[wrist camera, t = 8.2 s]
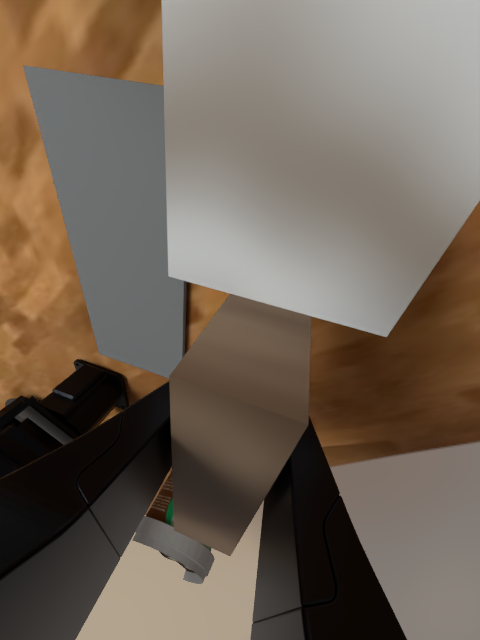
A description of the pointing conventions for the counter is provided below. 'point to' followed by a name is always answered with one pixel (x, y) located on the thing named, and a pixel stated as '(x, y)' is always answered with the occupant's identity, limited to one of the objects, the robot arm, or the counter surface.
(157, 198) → the rest mat
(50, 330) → the counter surface
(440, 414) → the counter surface
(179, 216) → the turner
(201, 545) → the food container
